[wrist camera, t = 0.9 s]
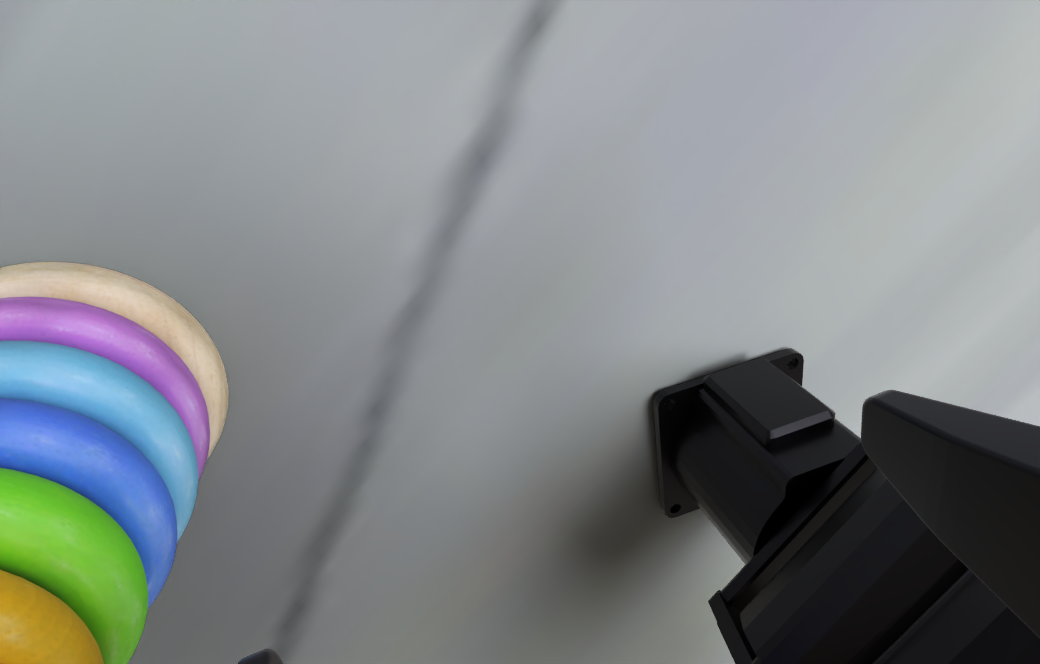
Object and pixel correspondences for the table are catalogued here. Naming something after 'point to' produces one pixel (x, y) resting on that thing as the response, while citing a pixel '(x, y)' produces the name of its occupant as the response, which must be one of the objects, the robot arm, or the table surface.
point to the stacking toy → (95, 455)
